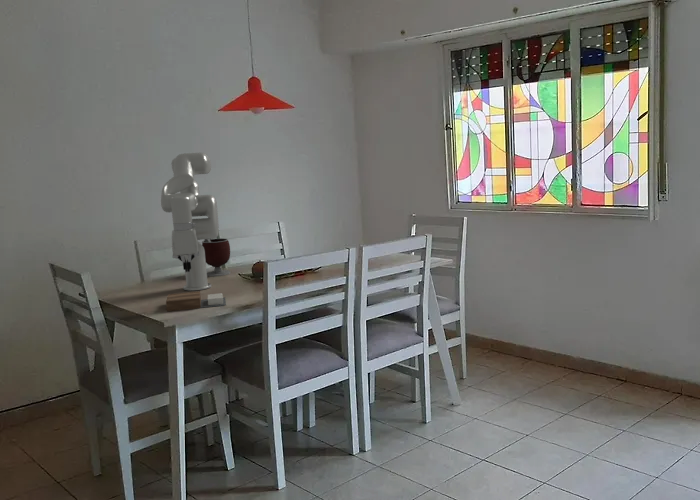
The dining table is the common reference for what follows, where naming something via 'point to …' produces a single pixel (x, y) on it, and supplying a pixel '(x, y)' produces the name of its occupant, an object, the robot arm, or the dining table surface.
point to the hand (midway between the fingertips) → (187, 271)
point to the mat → (205, 304)
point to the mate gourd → (217, 255)
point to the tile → (215, 299)
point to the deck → (183, 301)
